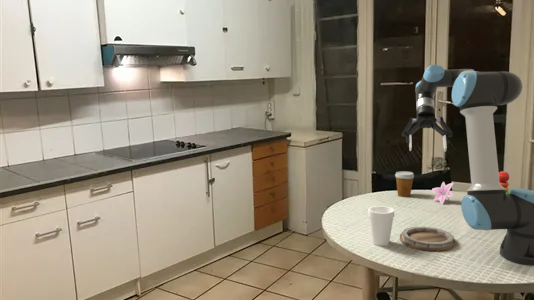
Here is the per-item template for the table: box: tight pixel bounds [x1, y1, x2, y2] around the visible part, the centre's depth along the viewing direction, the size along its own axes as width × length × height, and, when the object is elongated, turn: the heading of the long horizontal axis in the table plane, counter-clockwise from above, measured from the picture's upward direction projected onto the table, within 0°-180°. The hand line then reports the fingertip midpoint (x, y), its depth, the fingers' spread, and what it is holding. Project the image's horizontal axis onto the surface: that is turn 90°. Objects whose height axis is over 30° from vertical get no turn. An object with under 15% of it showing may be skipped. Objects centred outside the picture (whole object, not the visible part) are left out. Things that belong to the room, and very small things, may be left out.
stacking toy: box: [498, 170, 510, 194], centre depth 195 cm, size 8×8×19 cm
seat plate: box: [399, 226, 457, 253], centre depth 165 cm, size 20×20×2 cm
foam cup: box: [367, 205, 395, 247], centre depth 164 cm, size 10×9×13 cm
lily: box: [431, 181, 454, 205], centre depth 215 cm, size 12×12×10 cm
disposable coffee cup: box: [394, 170, 415, 198], centre depth 226 cm, size 10×10×12 cm
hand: (427, 149), depth 180 cm, fingers open, 13 cm apart
